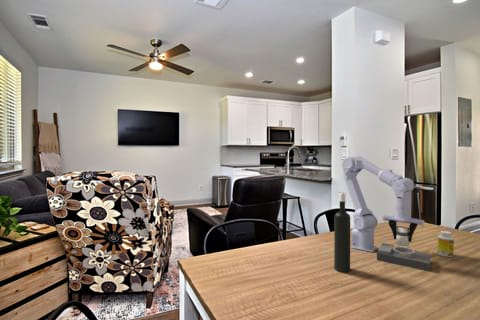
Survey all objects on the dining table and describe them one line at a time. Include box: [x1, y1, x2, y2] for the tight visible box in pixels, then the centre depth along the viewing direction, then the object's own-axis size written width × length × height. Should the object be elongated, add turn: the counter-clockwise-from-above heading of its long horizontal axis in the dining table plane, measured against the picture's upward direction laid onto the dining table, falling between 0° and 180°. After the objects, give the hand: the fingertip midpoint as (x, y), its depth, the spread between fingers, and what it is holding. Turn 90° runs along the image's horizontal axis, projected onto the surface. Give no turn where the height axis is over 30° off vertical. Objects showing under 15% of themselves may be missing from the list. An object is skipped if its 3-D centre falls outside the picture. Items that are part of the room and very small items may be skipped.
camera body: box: [376, 242, 432, 272], centre depth 110 cm, size 18×12×4 cm, turn 52°
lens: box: [395, 225, 410, 247], centre depth 109 cm, size 5×5×7 cm
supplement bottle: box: [437, 230, 455, 258], centre depth 115 cm, size 6×6×10 cm
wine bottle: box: [333, 191, 351, 273], centre depth 101 cm, size 6×6×30 cm
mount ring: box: [393, 246, 416, 257], centre depth 110 cm, size 8×8×2 cm
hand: (402, 239), depth 109 cm, fingers closed on lens, 5 cm apart
